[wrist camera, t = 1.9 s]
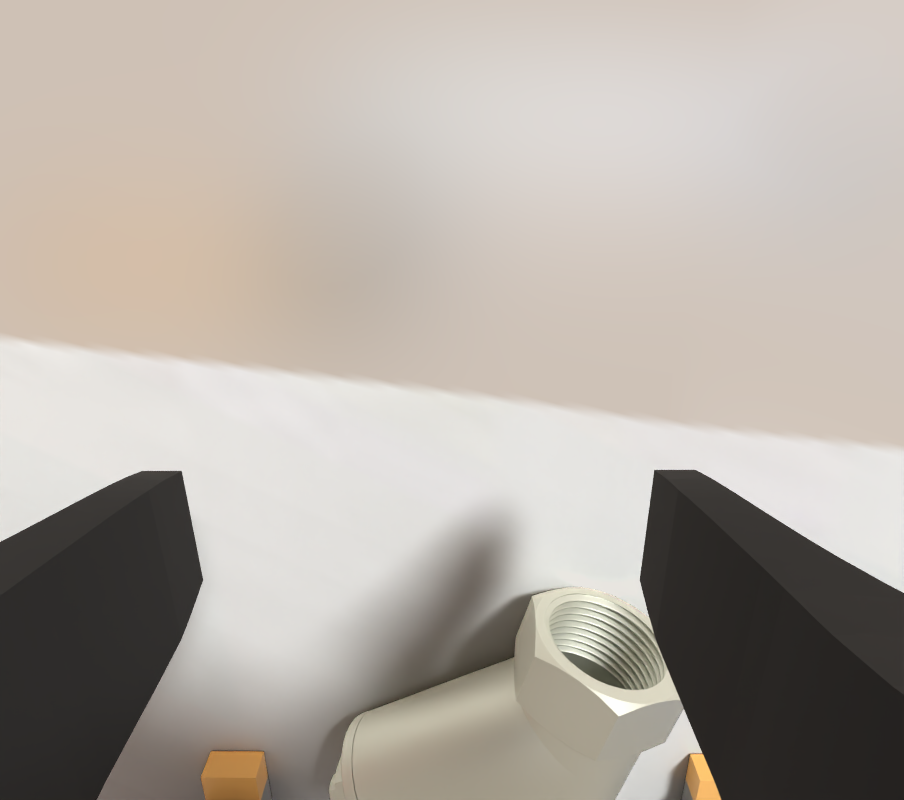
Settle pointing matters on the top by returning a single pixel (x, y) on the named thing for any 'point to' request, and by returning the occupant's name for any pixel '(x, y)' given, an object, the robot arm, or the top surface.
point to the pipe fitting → (525, 715)
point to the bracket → (248, 791)
